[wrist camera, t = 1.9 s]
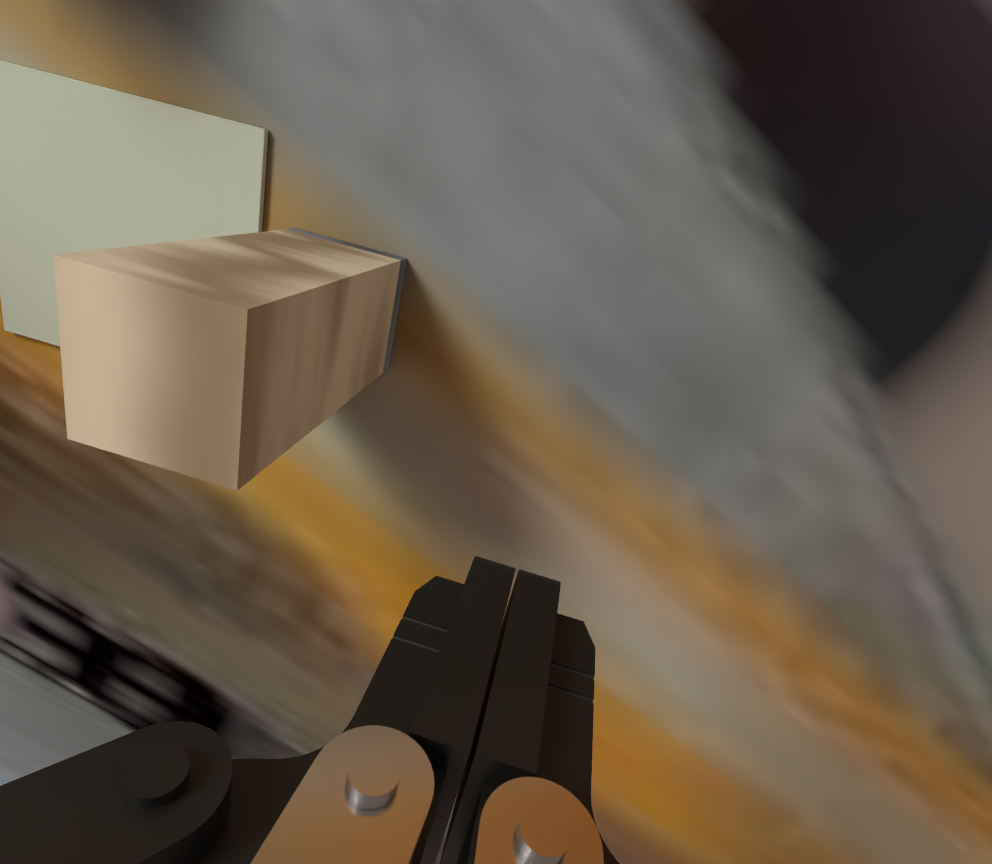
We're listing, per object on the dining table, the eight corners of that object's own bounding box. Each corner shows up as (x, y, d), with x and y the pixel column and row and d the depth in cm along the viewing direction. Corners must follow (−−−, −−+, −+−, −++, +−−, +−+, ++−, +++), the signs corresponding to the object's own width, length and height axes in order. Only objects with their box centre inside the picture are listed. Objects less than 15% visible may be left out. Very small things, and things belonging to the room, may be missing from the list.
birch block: (286, 339, 27) (67, 438, 16) (296, 228, 25) (53, 254, 14) (388, 368, 27) (237, 490, 16) (406, 258, 25) (247, 309, 14)
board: (10, 328, 29) (4, 330, 29) (-22, 54, 24) (-29, 52, 24) (251, 399, 28) (247, 401, 28) (268, 129, 24) (264, 129, 23)
